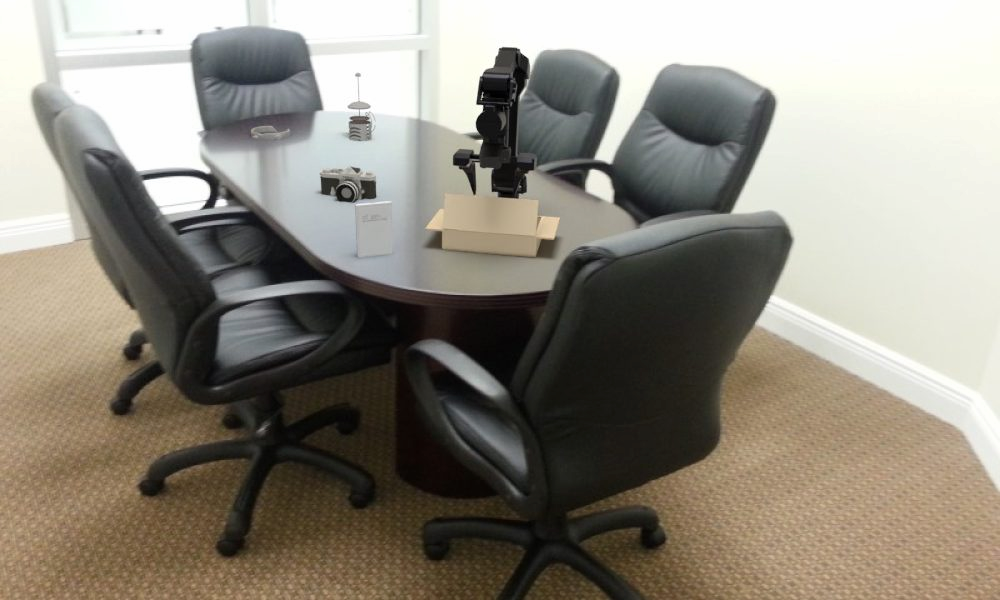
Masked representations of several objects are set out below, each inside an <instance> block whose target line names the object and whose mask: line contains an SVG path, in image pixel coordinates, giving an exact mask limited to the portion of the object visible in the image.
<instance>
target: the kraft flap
mask: <svg viewBox="0 0 1000 600" xmlns="http://www.w3.org/2000/svg"><path fill="white" fill-rule="evenodd" d="M539 200H540V199H527V198H526V199H525V198H519V199H514V198H500V197H498V196H487V195H486V196H484V195H473V194H471V195H469V194H468V195H467V194H454V193H444V202H443V203H444V206H443V209H444V216H443V229H456V230H469V231H482V232H495V233H509V234H522V235H535V236H536V227H537V216H539V215H538V213H539V212H538V211H539Z"/></svg>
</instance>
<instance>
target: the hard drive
mask: <svg viewBox="0 0 1000 600" xmlns="http://www.w3.org/2000/svg"><path fill="white" fill-rule="evenodd" d="M354 209H355V210H354V211H355V213H354V214H355V231H356V234H355V235H356V254H357V255H356V256H357V258H367V257H375V256H382V255H392V254H394V236H393V235H394V230H393V228H394V227H393V202H392V200H381V201H372V202H371V201H370V202H359V203H355V204H354Z"/></svg>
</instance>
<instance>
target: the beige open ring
mask: <svg viewBox="0 0 1000 600" xmlns="http://www.w3.org/2000/svg"><path fill="white" fill-rule="evenodd" d="M265 132H266V133H265ZM267 132H269V133H267ZM291 136H292V135H291V130H290V128H287V129H286V130H285V131H281V132H278V131H277V129H276V128H274V126H272V125H261V126H256V127H252V128H251V129H250V137H251V139H252V140H270V141H271V140H273V141H274V140H275V141H282V140H284V139H288V138H289V137H291Z"/></svg>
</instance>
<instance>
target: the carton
mask: <svg viewBox="0 0 1000 600" xmlns="http://www.w3.org/2000/svg"><path fill="white" fill-rule="evenodd" d="M443 216H444V208H440V209H438V211H437V212H436V213H435V214H434V216H433V218H432V219H431V220H430V222H429V223H428V224H427V226H426V227H425V231H434V232H441V249H442V250H443V249H444V251H453V250H457V251H456V252H464V251H467V252H466V253H474V252H477V253H478V254H485V253H488V254H487V255H501V256H514V257H524V258H537V255H538V251H539V248H540V245H541V242H542V240H548V241H550V240H552V241H554V240H555V238H556V234H557V231H558V228H559V223H560V220H561V217H559V216H558V217H555V216H543V215H537V227H536V236H535V235H522V234H509V233H495V232H482V231H469V230H456V229H443Z"/></svg>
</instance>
